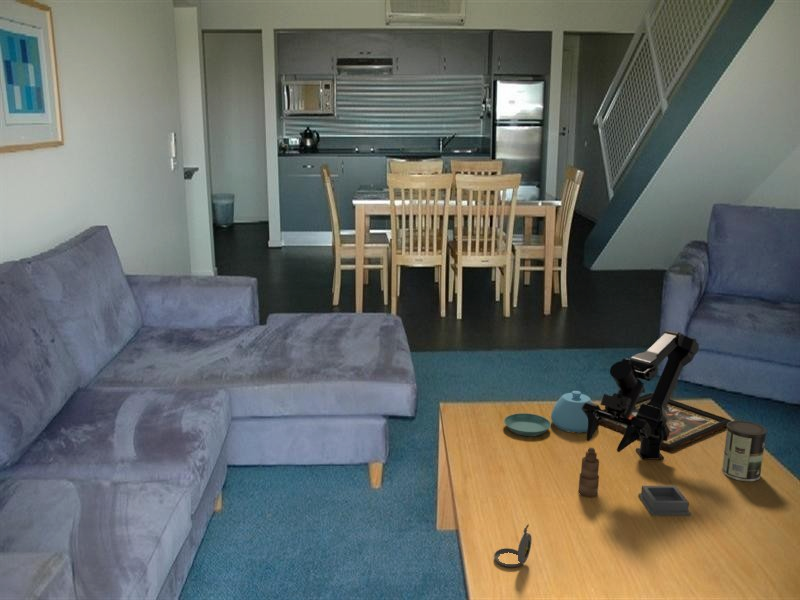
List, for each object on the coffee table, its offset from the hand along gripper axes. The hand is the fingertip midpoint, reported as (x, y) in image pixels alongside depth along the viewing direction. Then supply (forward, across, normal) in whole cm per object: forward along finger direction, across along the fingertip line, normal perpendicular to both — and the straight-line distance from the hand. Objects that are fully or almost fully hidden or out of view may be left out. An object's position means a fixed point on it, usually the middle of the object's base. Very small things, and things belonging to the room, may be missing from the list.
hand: (602, 445), depth 208 cm
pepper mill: (+12, 0, +5) cm, 13 cm away
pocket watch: (+41, +6, -24) cm, 48 cm away
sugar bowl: (-13, -28, +30) cm, 43 cm away
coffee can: (-18, +24, +34) cm, 45 cm away
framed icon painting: (-30, -10, +47) cm, 56 cm away
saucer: (-4, -36, +21) cm, 42 cm away
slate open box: (+6, +17, +11) cm, 21 cm away
